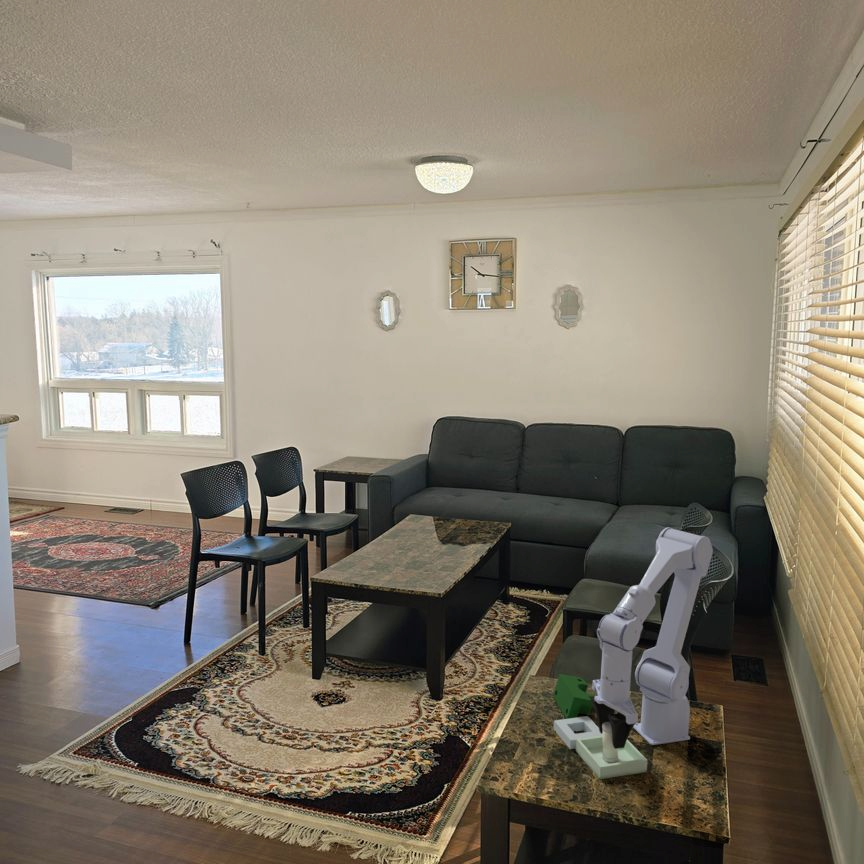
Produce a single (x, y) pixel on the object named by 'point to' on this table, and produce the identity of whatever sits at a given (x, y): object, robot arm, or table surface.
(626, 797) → the table surface
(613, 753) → the cylinder
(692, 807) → the table surface
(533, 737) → the table surface
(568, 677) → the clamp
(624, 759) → the parts tray
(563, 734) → the grey square frame
